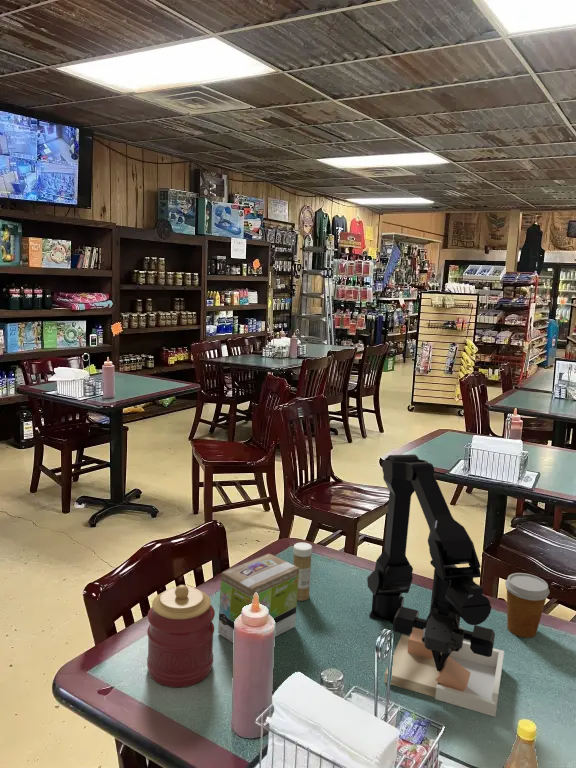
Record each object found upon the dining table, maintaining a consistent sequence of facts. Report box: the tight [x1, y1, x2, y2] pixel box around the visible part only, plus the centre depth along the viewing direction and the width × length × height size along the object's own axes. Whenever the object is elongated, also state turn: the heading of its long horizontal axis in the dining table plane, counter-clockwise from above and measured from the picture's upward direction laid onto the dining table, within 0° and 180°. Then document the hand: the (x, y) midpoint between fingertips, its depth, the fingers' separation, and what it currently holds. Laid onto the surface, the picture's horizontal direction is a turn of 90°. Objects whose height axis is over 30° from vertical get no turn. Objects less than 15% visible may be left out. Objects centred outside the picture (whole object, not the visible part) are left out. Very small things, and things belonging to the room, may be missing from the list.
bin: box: [434, 641, 505, 718], centre depth 125 cm, size 11×16×4 cm
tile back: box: [408, 627, 433, 659], centre depth 132 cm, size 5×5×3 cm
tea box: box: [217, 553, 299, 644], centre depth 139 cm, size 15×10×15 cm
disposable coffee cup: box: [504, 572, 551, 639], centre depth 144 cm, size 10×10×12 cm
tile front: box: [436, 656, 470, 691], centre depth 123 cm, size 5×5×3 cm
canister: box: [146, 584, 216, 688], centre depth 124 cm, size 13×13×18 cm
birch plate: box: [384, 634, 442, 698], centre depth 129 cm, size 10×15×2 cm, turn 157°
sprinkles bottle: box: [292, 542, 313, 602], centre depth 154 cm, size 5×5×13 cm
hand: (439, 670), depth 124 cm, fingers closed
